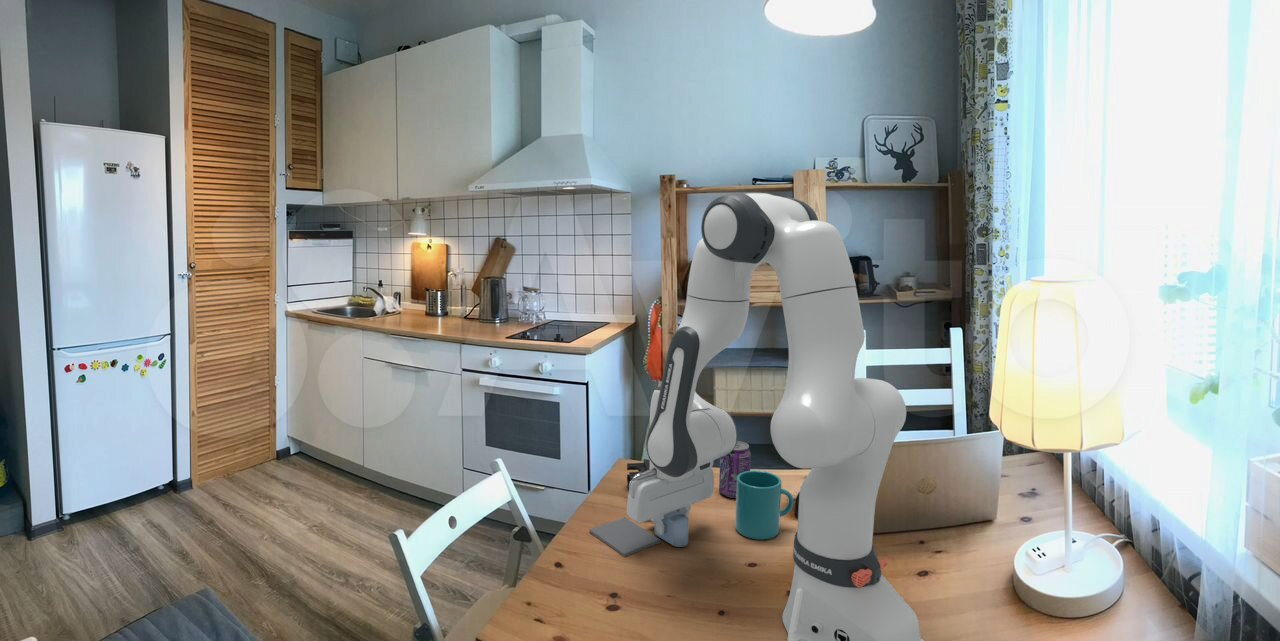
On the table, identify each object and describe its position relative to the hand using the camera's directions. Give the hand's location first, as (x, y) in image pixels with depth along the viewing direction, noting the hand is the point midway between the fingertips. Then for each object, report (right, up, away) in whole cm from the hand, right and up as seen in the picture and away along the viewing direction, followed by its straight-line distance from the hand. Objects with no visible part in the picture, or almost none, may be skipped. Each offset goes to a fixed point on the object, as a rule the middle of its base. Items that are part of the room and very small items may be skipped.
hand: (671, 529), depth 123 cm
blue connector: (-1, -2, +1) cm, 2 cm away
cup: (+20, -2, +5) cm, 20 cm away
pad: (-9, -2, +1) cm, 10 cm away
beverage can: (+16, +1, +22) cm, 27 cm away
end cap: (-5, +1, +22) cm, 22 cm away
